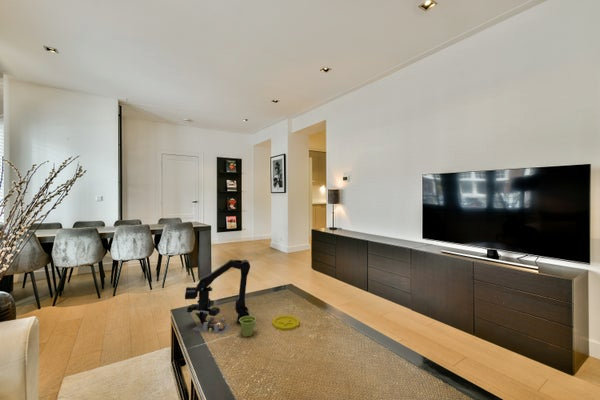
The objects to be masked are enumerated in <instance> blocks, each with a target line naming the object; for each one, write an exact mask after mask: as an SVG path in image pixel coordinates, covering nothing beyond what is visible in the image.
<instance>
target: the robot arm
mask: <svg viewBox="0 0 600 400" xmlns="http://www.w3.org/2000/svg"><path fill="white" fill-rule="evenodd" d="M232 268H233V269H237V270H240V281H239V290H238V298H237V299H234V300H235V303H234V310H235V313H236V314H237V317H236V323H237V324H238V325H240V326H241V324H240V321H239V320H240V318H242V317H244V316H250V312H249V308H248V307H247V306H246V290H247V282H248V281H247V279H248V276H249V272H250V270H251V264H250V261H249V260H248V259H243V260H240V259H229V260H228V261H227V262H225V263H224V264H222V265H221V266H220V267H218V268H216V269H215V270H214V271H212V272H210V273H207V274H204V275H203V276H201V278H200V279H199V281H198V284H196V286H193V287H190V286H187V287H186V288H185V293H184V300H196V299H197V298H198V300H197V301H196V302H197V304H191V305H189V306H188V307H186V313H193V311H195V315H196V316H197V318H198V319H199V321H200V323H201V324H202V325H203V324H204V321H205V320H207V317H208V315H209V316H210V317H216V316H217V315H218V314H219V313H220V312H221V310H220V308H219V307H215V306H214V304H215V300H212V299H211V298H210V292H213V287H212V286H211V284H212V283H213V282H214V281H215V280H216V279H217V278H218V277H220V276H222V275H223V274H224V273H225V272H227V271H228V270H230V269H232ZM211 307H212V308H211Z"/></svg>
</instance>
